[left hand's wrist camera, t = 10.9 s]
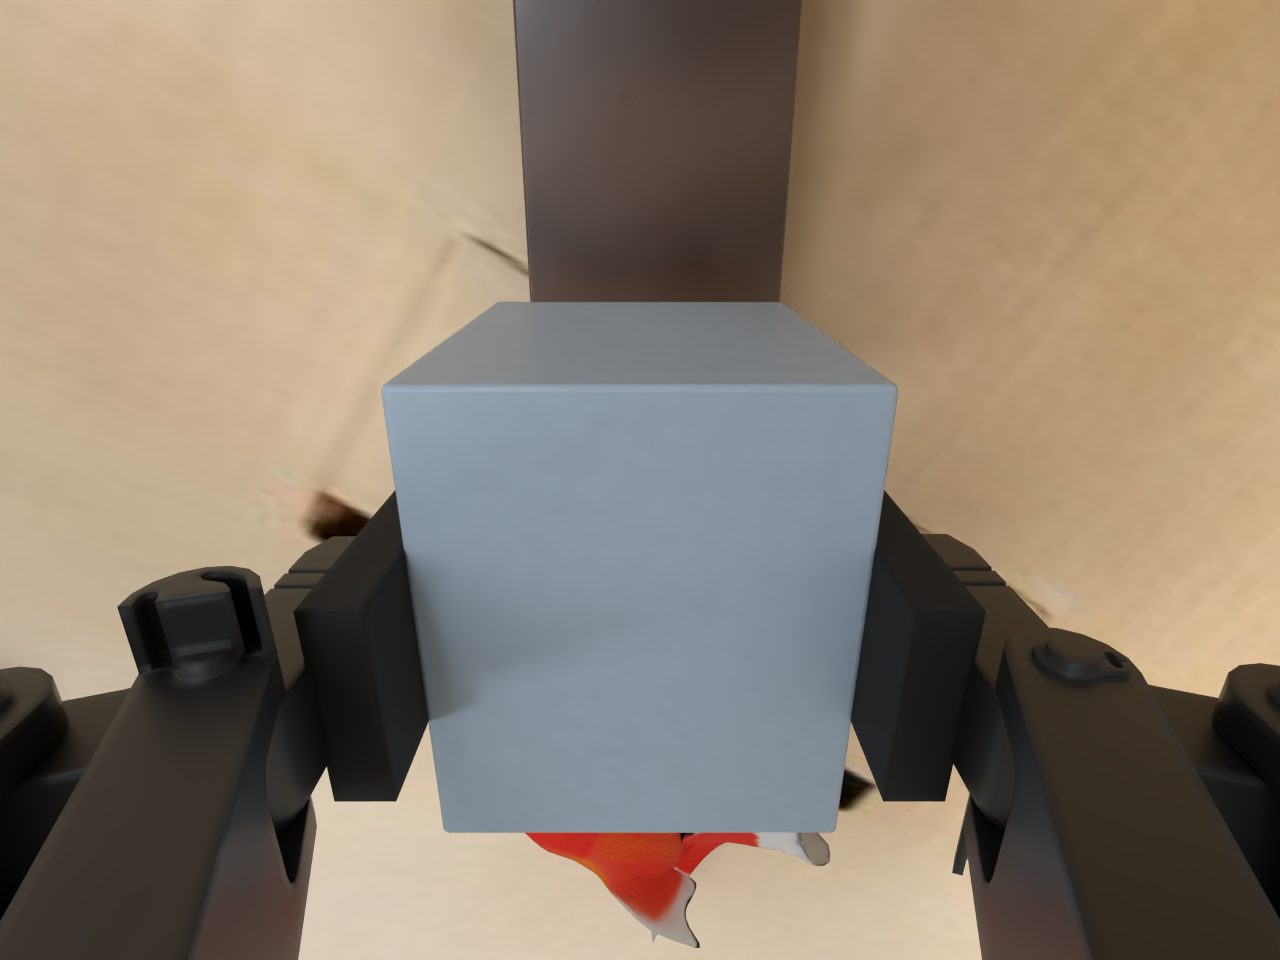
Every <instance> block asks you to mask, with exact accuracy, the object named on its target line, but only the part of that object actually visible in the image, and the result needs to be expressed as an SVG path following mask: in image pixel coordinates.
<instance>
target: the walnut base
mask: <svg viewBox="0 0 1280 960" xmlns="http://www.w3.org/2000/svg"><path fill="white" fill-rule="evenodd" d="M801 7H802V0H513V10H514V28H515V45H516V62H517V79H518V96H519V114H520V131H521V148H522V165H523V182H524V200H525V217H526V234H527V251H528V268H529V285H530V302H780V290H781V277H782V263H783V250H784V236H785V223H786V209H787V196H788V182H789V169H790V155H791V142H792V128H793V115H794V101H795V88H796V74H797V61H798V47H799V34H800V20H801Z"/></svg>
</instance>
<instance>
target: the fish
mask: <svg viewBox="0 0 1280 960" xmlns="http://www.w3.org/2000/svg"><path fill="white" fill-rule="evenodd" d="M526 834H527V835H528V836H529V837H530V838H531V839H532V840H533V841H534V842H536V843H537V844H538V845H539V846H541V847H542V848H544V849H545V850H547V851H548V852H551V853H554V854H557V855H560V856H563V857H566V858H569V859H572V860H574V861H576V862H578V863H580V864H581V865H583V866H585V867H586V868H588V869H589V870H591V871H593V872H594V873H595V874H597V875H598V876H599V878H600V879H601V880H602V881H603V882H604V884H605V886H606V887H607V888H608V889H609V891H610V892H611V893H612V894H613V895H614V896H615V897H616V899H617V900H618V901H619V902H620V903H621V904H622V905H623V906H624V907H625V908H626V909H627V910H628V911H629V912H630V913H631V914H632V915H633V916H634V917H635V918H636V919H637V920H638V921H640V922H641V923H642V924H643V925H645V926H646V927H647V928H648V929H650V930H651V931H652V940H653V942H654V939H655V937H656V935H657V934H659V935H662V936H664V937H666V938H668V939H671V940H674V941H677V942H680V943H683V944H686V945H689V946H692V947H695V948H700V945H699V942H698V940H697V939H696V937H695V936H694V934H693V932H692V931H691V929H690V928H689V925H688V923H687V920H686V908H687V905H688V903H689V902H690V900H691V898H692V896H693V894H694V892H695V889H696V883H695V881H694V880H692V879H691V878H690V877H689V876H690V874H691V873H692V872H693V870H694V869H695V868H696V867H697V865H698V864H699V863H700V862H701V861H702V860H703V859H704V858H705V857H706V856H707V855H708V854H709V853H710V852H711V851H712V850H714V849H715V848H716V847H718V846H719V845H721V844H723V843H726V842H730V843H737V844H744V845H749V846H754V847H761V848H767V849H772V850H778V851H782V852H785V853H788V854H791V855H794V856H797V857H800V858H802V859H804V860H806V861H807V862H809V863H811V864H813V865H815V866H823V865H826V864H827V863H829V859H830V851H829V846H828V844H827V843H826V842H825V840H824V839H823V838H822V837H821V836H820V835H819V834H818V833H526Z"/></svg>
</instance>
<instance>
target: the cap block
mask: <svg viewBox="0 0 1280 960" xmlns="http://www.w3.org/2000/svg"><path fill="white" fill-rule="evenodd" d="M381 392H382V399H383V406H384V413H385V420H386V427H387V434H388V441H389V448H390V455H391V462H392V469H393V476H394V483H395V490H396V497H397V504H398V511H399V518H400V525H401V532H402V539H403V546H404V551H405V558H406V565H407V572H408V579H409V586H410V593H411V600H412V607H413V614H414V621H415V628H416V635H417V642H418V649H419V656H420V663H421V670H422V677H423V684H424V691H425V698H426V705H427V712H428V719H429V721H428V722H429V729H430V736H431V743H432V750H433V757H434V764H435V771H436V778H437V785H438V792H439V799H440V806H441V813H442V820H443V827H444V830H445V831H446V832H449V833H831V832H833V831H834V830H835V828H836V822H837V815H838V808H839V801H840V794H841V787H842V780H843V773H844V766H845V759H846V752H847V745H848V738H849V731H850V724H851V715H852V708H853V701H854V694H855V687H856V680H857V673H858V666H859V659H860V652H861V645H862V638H863V631H864V624H865V617H866V610H867V603H868V596H869V589H870V582H871V575H872V568H873V561H874V554H875V549H876V543H877V536H878V529H879V522H880V515H881V508H882V501H883V494H884V487H885V480H886V473H887V466H888V459H889V452H890V445H891V438H892V431H893V424H894V417H895V410H896V403H897V396H898V389H897V385H895V384H894V383H893V382H891V381H890V380H888V379H887V378H886V377H884V376H883V375H881V374H880V373H879V372H877V371H876V370H875V369H873V368H872V367H870V366H869V365H868V364H866V363H865V362H864V361H862V360H861V359H859V358H858V357H857V356H855V355H854V354H853V353H851V352H850V351H848V350H847V349H846V348H844V347H843V346H841V345H840V344H839V343H837V342H836V341H835V340H833V339H832V338H830V337H829V336H828V335H826V334H825V333H824V332H822V331H821V330H819V329H818V328H817V327H815V326H814V325H812V324H811V323H810V322H808V321H807V320H806V319H804V318H803V317H801V316H800V315H799V314H797V313H796V312H795V311H793V310H792V309H790V308H789V307H788V306H786V305H785V304H783V303H781V302H498V303H496V304H495V305H493V306H492V307H490V308H489V309H488V310H486V311H485V312H484V313H482V314H481V315H479V316H478V317H477V318H475V319H474V320H472V321H471V322H470V323H468V324H467V325H466V326H464V327H463V328H461V329H460V330H459V331H457V332H456V333H454V334H453V335H452V336H450V337H449V338H448V339H446V340H445V341H443V342H442V343H441V344H439V345H438V346H437V347H435V348H434V349H432V350H431V351H430V352H428V353H427V354H425V355H424V356H423V357H421V358H420V359H419V360H417V361H416V362H414V363H413V364H412V365H410V366H409V367H408V368H406V369H405V370H403V371H402V372H401V373H399V374H398V375H396V376H395V377H394V378H392V379H391V380H390V381H388V382H387V383H385V384H384V385H383V387H382V391H381Z"/></svg>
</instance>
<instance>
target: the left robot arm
mask: <svg viewBox="0 0 1280 960" xmlns="http://www.w3.org/2000/svg"><path fill="white" fill-rule="evenodd" d="M117 608H118V611H119V614H120V617H121V620H122V623H123V626H124V629H125V632H126V635H127V638H128V641H129V644H130V647H131V650H132V653H133V656H134V659H135V663H136V666H137V669H138V672H139V675H138V676H137V678H136V680H135V682H134V684H133V685H132V687H131V688H129V689H125V690H120V691H114V692H109V693H104V694H99V695H93V696H88V697H83V698H78V699H72V700H67V701H62V700H61V698H60V695H59V693H58V690H57V687H56V685H55V682H54V680H53V677H52V676H51V675H50V674H48V673H47V672H45V671H44V670H42V669H39V668H28V667H15V668H7V669H0V960H298V957H299V949H300V942H301V935H302V928H303V921H304V914H305V907H306V899H307V892H308V885H309V878H310V871H311V864H312V857H313V849H314V842H315V835H316V828H317V825H316V818H315V811H314V807H313V802H312V798H311V794H312V792H313V790H314V788H315V786H316V785H317V783H318V781H319V779H320V777H321V776H322V774H323V772H324V770H325V768H326V767H327V769H328V774H329V778H330V783H331V787H332V792H333V797H334V801H396V800H397V798H398V796H399V793H400V791H401V788H402V786H403V783H404V781H405V778H406V776H407V773H408V771H409V768H410V766H411V763H412V761H413V758H414V756H415V754H416V751H417V749H418V746H419V744H420V741H421V739H422V736H423V734H424V731H425V729H426V726H427V724H428V721H429V719H428V712H427V705H426V698H425V691H424V684H423V677H422V670H421V663H420V656H419V649H418V642H417V635H416V628H415V621H414V614H413V607H412V600H411V593H410V586H409V579H408V572H407V565H406V558H405V551H404V546H403V539H402V532H401V525H400V518H399V511H398V504H397V497H396V490H395V491H394V492H393V493H392V495H391V496H390V497H389V498H388V499H387V501H386V502H385V503H384V504H383V505H382V507H381V508H380V509H379V510H378V511H377V512H376V514H375V515H374V516H373V517H372V518H371V520H370V521H369V522H368V523H367V524H366V526H365V527H364V528H363V529H362V530H361V531H360V533H359V534H358V535H357V536H356V537H332V538H330V539H328V540H326V541H324V542H323V543H321V544H319V545H317V546H315V547H314V548H312V549H310V550H308V551H306V552H305V553H304V554H303V555H302V556H301V557H300V558H299V559H298V561H297V562H296V563H295V564H294V565H293V566H292V567H291V568H290V569H289V573H288V574H284V575H283V576H282V577H281V578H280V580H279V581H278V582H277V583H276V584H275V585H274V589H270V590H269V591H268V592H267V593H266V594H265V595H264V593H263V588H262V584H261V580H260V576H259V575H257V574H256V573H254V572H253V571H251V570H250V569H246V568H240V567H234V566H220V567H205V568H200V569H195V570H190V571H185V572H180V573H177V574H174V575H172V576H169V577H166V578H163V579H160V580H157V581H155V582H152V583H151V584H149V585H147V586H145V587H143V588H141V589H139V590H138V591H136V592H134V593H132V594H131V595H130V596H129V597H128V598H126V599H125V600H124V601H123V602H122V603H121V604H120V605H119V606H118V607H117ZM851 723H852V725H853V727H854V730H855V732H856V735H857V737H858V740H859V742H860V745H861V747H862V750H863V752H864V755H865V757H866V760H867V762H868V765H869V767H870V770H871V772H872V774H873V777H874V779H875V782H876V784H877V787H878V789H879V792H880V794H881V797H882V799H883V801H945V799H946V794H947V790H948V785H949V780H950V776H951V771H952V767H953V764H954V766H955V767H956V769H957V771H958V773H959V775H960V776H961V778H962V780H963V782H964V784H965V785H966V787H967V789H968V791H969V792H970V794H969V798H968V802H967V807H966V811H965V815H964V820H963V824H962V828H961V832H960V837H959V841H958V845H957V850H956V854H955V858H954V865H953V872H952V873H955V874H959V875H963V871H964V867H965V863H966V860H967V859H968V862H969V869H970V876H971V883H972V890H973V898H974V905H975V912H976V919H977V926H978V933H979V940H980V947H981V955H982V960H1280V666H1277V665H1270V664H1262V663H1259V664H1248V665H1239V666H1238V667H1236V668H1235V669H1233V670H1232V671H1230V672H1229V673H1228V675H1227V678H1226V680H1225V683H1224V686H1223V688H1222V691H1221V693H1220V696H1219V698H1215V697H1210V696H1204V695H1199V694H1194V693H1188V692H1183V691H1178V690H1173V689H1167V688H1162V687H1157V686H1152V685H1148V684H1147V682H1146V680H1145V679H1144V677H1143V675H1142V673H1141V672H1140V671H1139V670H1138V669H1137V667H1136V666H1135V665H1134V664H1133V663H1132V662H1131V661H1130V660H1129V658H1127V657H1126V656H1124V655H1123V654H1121V653H1120V652H1118V651H1116V650H1115V649H1113V648H1112V647H1110V646H1109V645H1107V644H1105V643H1102V642H1100V641H1097V640H1095V639H1093V638H1090V637H1088V636H1085V635H1083V634H1079V633H1075V632H1071V631H1067V630H1062V629H1058V628H1049V627H1048V626H1047V625H1046V624H1045V623H1044V622H1043V621H1042V620H1041V619H1040V618H1039V617H1038V616H1037V614H1036V613H1035V612H1034V611H1033V610H1032V609H1031V608H1030V607H1029V606H1028V605H1027V604H1026V603H1025V602H1024V601H1023V600H1022V599H1021V598H1020V597H1019V596H1018V595H1017V594H1016V593H1015V591H1014V590H1013V589H1012V588H1011V587H1010V586H1006V582H1005V581H1004V580H1003V579H1002V578H1001V577H1000V576H999V575H998V574H997V573H996V572H995V571H992V570H991V566H990V565H989V564H988V563H987V562H986V561H985V560H984V559H983V558H982V557H981V556H980V555H979V554H978V553H977V552H976V551H975V550H974V549H973V548H971V547H969V546H967V545H965V544H963V543H962V542H960V541H958V540H956V539H954V538H953V537H951V536H949V535H947V534H921V533H920V532H919V531H918V530H917V528H916V527H915V526H914V525H913V524H912V523H911V521H910V520H909V519H908V518H907V517H906V515H905V514H904V513H903V512H902V511H901V509H900V508H899V507H898V506H897V505H896V504H895V502H894V501H893V500H892V499H891V498H890V496H889V495H888V494H887V493H886V492H885V490H884V494H883V501H882V508H881V515H880V522H879V529H878V536H877V543H876V549H875V554H874V561H873V568H872V575H871V582H870V589H869V596H868V603H867V610H866V617H865V624H864V631H863V638H862V645H861V652H860V659H859V666H858V673H857V680H856V687H855V694H854V701H853V708H852V715H851Z"/></svg>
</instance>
